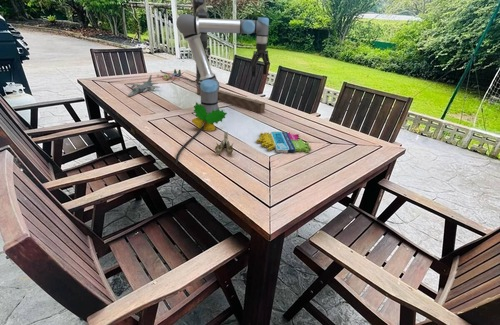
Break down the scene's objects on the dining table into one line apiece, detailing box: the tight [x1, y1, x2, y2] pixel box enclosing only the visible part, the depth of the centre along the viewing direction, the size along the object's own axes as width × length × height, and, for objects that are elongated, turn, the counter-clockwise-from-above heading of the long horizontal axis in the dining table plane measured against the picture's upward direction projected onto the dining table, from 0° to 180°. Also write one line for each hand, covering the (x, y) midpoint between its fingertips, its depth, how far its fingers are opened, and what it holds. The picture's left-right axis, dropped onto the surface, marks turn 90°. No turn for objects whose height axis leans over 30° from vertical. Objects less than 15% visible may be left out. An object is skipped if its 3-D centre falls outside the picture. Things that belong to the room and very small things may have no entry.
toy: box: [155, 68, 182, 81], centre depth 281 cm, size 28×7×30 cm
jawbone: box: [214, 131, 234, 156], centre depth 136 cm, size 9×15×10 cm
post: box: [196, 85, 266, 114], centre depth 215 cm, size 71×5×7 cm, turn 51°
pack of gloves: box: [256, 131, 312, 154], centre depth 152 cm, size 26×2×30 cm
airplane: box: [127, 74, 159, 97], centre depth 228 cm, size 38×32×10 cm
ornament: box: [191, 102, 228, 132], centre depth 162 cm, size 21×8×15 cm, turn 105°
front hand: (259, 75), depth 188 cm, fingers open, 13 cm apart
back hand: (203, 61), depth 218 cm, fingers open, 8 cm apart
